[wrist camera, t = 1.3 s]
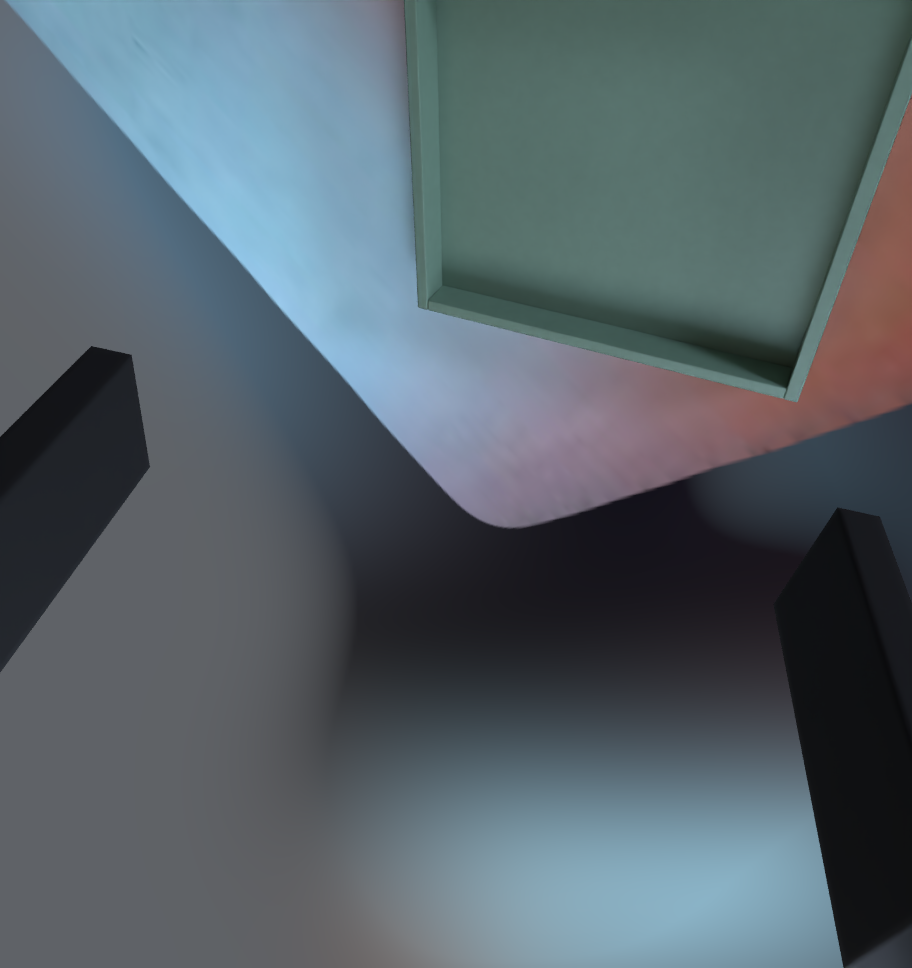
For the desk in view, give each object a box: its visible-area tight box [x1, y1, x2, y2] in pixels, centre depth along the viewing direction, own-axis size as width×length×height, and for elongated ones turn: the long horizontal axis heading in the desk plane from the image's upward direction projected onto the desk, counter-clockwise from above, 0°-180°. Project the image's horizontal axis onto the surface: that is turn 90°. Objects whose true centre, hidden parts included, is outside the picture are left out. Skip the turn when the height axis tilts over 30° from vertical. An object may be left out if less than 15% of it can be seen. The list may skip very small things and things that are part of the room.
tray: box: [404, 0, 912, 402], centre depth 33 cm, size 19×16×2 cm
